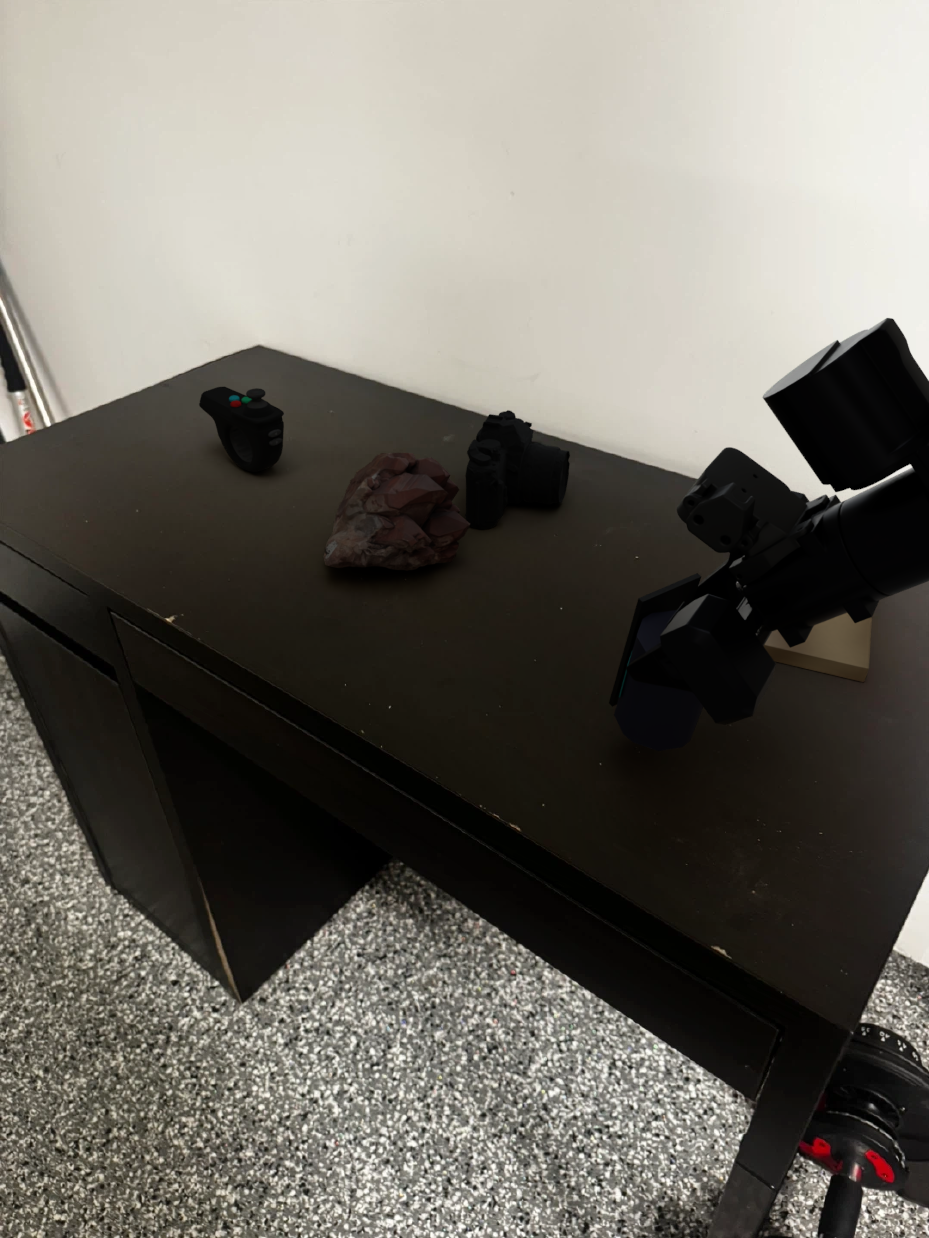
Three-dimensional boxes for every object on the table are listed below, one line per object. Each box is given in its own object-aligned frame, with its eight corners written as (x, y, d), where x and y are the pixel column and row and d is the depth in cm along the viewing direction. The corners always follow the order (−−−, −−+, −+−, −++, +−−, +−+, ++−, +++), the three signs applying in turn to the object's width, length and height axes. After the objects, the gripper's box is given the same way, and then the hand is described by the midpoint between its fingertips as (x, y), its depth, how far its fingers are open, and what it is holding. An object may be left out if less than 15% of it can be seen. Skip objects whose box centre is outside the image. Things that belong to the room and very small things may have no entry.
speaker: (591, 686, 65) (616, 576, 59) (664, 677, 67) (696, 568, 60) (628, 765, 60) (660, 655, 53) (706, 754, 61) (747, 645, 54)
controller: (267, 488, 99) (254, 404, 93) (204, 455, 106) (188, 374, 100) (297, 475, 102) (287, 392, 96) (233, 443, 109) (220, 364, 103)
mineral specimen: (361, 571, 95) (494, 546, 90) (308, 600, 83) (457, 573, 78) (334, 464, 92) (468, 432, 87) (274, 478, 80) (426, 442, 75)
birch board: (872, 550, 89) (877, 537, 89) (863, 682, 73) (869, 668, 72) (751, 526, 93) (754, 514, 92) (716, 648, 77) (720, 634, 76)
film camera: (546, 542, 90) (551, 462, 85) (455, 527, 93) (455, 449, 87) (575, 475, 102) (581, 401, 97) (494, 464, 104) (496, 391, 99)
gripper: (832, 370, 53) (641, 487, 65) (727, 497, 41) (513, 615, 52) (932, 518, 55) (728, 608, 66) (860, 686, 42) (623, 761, 53)
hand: (654, 641), depth 59 cm, fingers closed on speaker, 7 cm apart
